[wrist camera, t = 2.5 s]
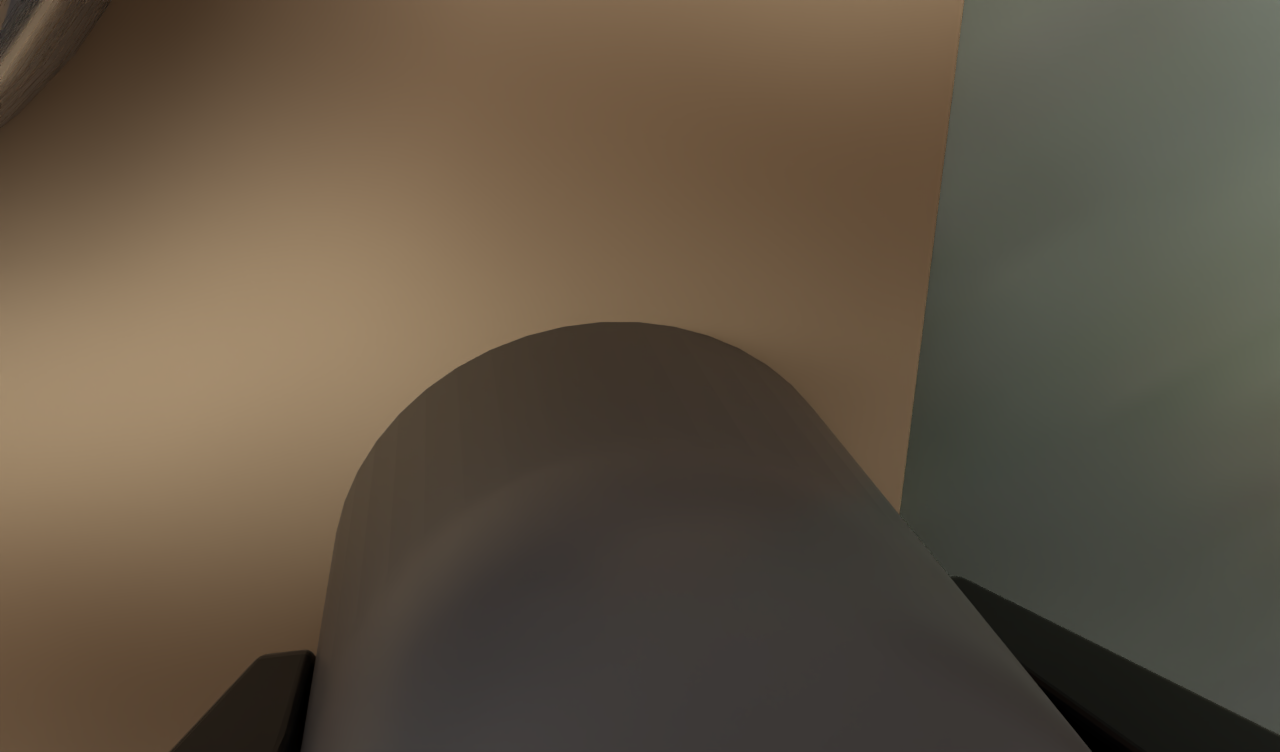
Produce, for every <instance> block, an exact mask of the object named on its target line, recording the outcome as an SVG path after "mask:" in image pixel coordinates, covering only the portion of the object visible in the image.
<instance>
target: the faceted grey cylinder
mask: <svg viewBox="0 0 1280 752" xmlns="http://www.w3.org/2000/svg"><path fill="white" fill-rule="evenodd" d="M111 1H112V0H0V128H1V127H2V126H3V125H5V124H6V123H7V122H9V121H10V120H11V119H13V118H14V117H15V116H16V115H18V114H19V113H20V112H21V111H22V110H23V109H24V108H25V106H26V105H27V104H28V103H29V102H30V101H31V100H32V99H33V98H34V97H35V96H36V95H37V94H38V93H39V92H40V91H41V90H42V89H43V88H44V87H45V86H46V84H47V83H48V82H49V81H50V80H51V79H52V78H53V77H54V76H55V75H56V74H57V73H58V72H59V71H60V70H61V69H62V68H63V67H64V66H65V65H66V64H67V62H68V61H69V60H70V59H71V58H72V57H73V56H74V55H75V54H76V52H77V51H78V49H79V48H80V46H81V45H82V43H83V42H84V40H85V39H86V38H87V36H88V35H89V33H90V32H91V30H92V29H93V27H94V26H95V24H96V23H97V22H98V20H99V19H100V17H101V16H102V14H103V13H104V11H105V10H106V8H107V7H108V6H109V4H110V3H111Z"/></svg>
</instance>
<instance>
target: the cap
mask: <svg viewBox="0 0 1280 752" xmlns="http://www.w3.org/2000/svg"><path fill="white" fill-rule="evenodd" d="M301 752H1092V751H1091V750H1090V749H1089V747H1088V746H1087V745H1086V744H1085V742H1084V741H1083V740H1082V739H1081V738H1080V736H1079V735H1078V734H1077V733H1076V731H1075V730H1074V729H1073V728H1072V726H1071V725H1070V724H1069V723H1068V722H1067V720H1066V719H1065V718H1064V717H1063V715H1062V714H1061V713H1060V712H1059V711H1058V709H1057V708H1056V707H1055V706H1054V704H1053V703H1052V702H1051V701H1050V699H1049V698H1048V697H1047V696H1046V695H1045V693H1044V692H1043V691H1042V690H1041V688H1040V687H1039V686H1038V685H1037V683H1036V682H1035V681H1034V680H1033V679H1032V677H1031V676H1030V675H1029V674H1028V672H1027V671H1026V670H1025V669H1024V667H1023V666H1022V665H1021V664H1020V663H1019V661H1018V660H1017V659H1016V658H1015V656H1014V655H1013V654H1012V653H1011V651H1010V650H1009V649H1008V648H1007V647H1006V645H1005V644H1004V643H1003V642H1002V640H1001V639H1000V638H999V637H998V635H997V634H996V633H995V632H994V631H993V629H992V628H991V627H990V626H989V624H988V623H987V622H986V621H985V619H984V618H983V617H982V616H981V615H980V613H979V612H978V611H977V610H976V608H975V607H974V606H973V605H972V603H971V602H970V601H969V600H968V599H967V597H966V596H965V595H964V594H963V592H962V591H961V590H960V589H959V587H958V586H957V585H956V584H955V583H954V581H953V580H952V579H951V578H950V576H949V575H948V574H947V573H946V571H945V570H944V569H943V568H942V567H941V565H940V564H939V563H938V562H937V560H936V559H935V558H934V557H933V555H932V554H931V553H930V552H929V551H928V549H927V548H926V547H925V546H924V544H923V543H922V542H921V541H920V539H919V538H918V537H917V536H916V535H915V533H914V532H913V531H912V530H911V528H910V527H909V526H908V525H907V523H906V522H905V521H904V520H903V519H902V517H901V516H900V515H899V514H898V512H897V511H896V510H895V509H894V507H893V506H892V505H891V504H890V503H889V501H888V500H887V499H886V498H885V496H884V495H883V494H882V493H881V491H880V490H879V489H878V488H877V487H876V485H875V484H874V483H873V482H872V480H871V479H870V478H869V477H868V475H867V474H866V473H865V472H864V471H863V469H862V468H861V467H860V466H859V464H858V463H857V462H856V461H855V459H854V458H853V457H852V456H851V455H850V453H849V452H848V451H847V450H846V448H845V447H844V446H843V445H842V443H841V442H840V441H839V440H838V439H837V437H836V436H835V435H834V434H833V432H832V431H831V430H830V429H829V427H828V426H827V425H826V424H825V423H824V421H823V420H822V419H821V418H820V416H819V415H818V414H817V413H816V411H815V410H814V409H813V408H812V407H811V406H810V404H809V403H808V402H807V401H806V400H805V399H804V398H803V397H802V396H801V395H800V393H799V392H798V391H797V390H796V389H795V388H794V387H793V386H792V385H791V384H790V383H789V382H788V381H786V380H785V379H784V378H783V377H781V376H780V375H779V374H778V373H776V372H775V371H774V370H773V369H772V368H770V367H769V366H768V365H766V364H765V363H763V362H761V361H759V360H758V359H756V358H754V357H753V356H751V355H749V354H748V353H746V352H744V351H743V350H741V349H739V348H737V347H734V346H732V345H730V344H727V343H725V342H722V341H720V340H718V339H715V338H713V337H710V336H708V335H704V334H700V333H696V332H693V331H689V330H685V329H681V328H677V327H673V326H665V325H657V324H650V323H642V322H597V323H589V324H581V325H573V326H565V327H560V328H556V329H552V330H548V331H544V332H540V333H536V334H532V335H528V336H525V337H522V338H520V339H517V340H515V341H512V342H509V343H507V344H504V345H502V346H499V347H496V348H494V349H491V350H489V351H487V352H485V353H483V354H482V355H480V356H478V357H476V358H474V359H472V360H470V361H468V362H467V363H465V364H463V365H461V366H459V367H457V368H456V369H454V370H453V371H451V372H450V373H449V374H447V375H446V376H444V377H443V378H441V379H440V380H439V381H437V382H436V383H434V384H433V385H432V386H430V387H429V388H427V389H426V390H425V391H424V392H423V393H422V394H420V395H419V396H418V397H417V398H416V399H415V400H414V401H413V402H412V403H411V404H410V405H408V406H407V407H406V408H405V409H404V410H403V411H402V412H401V413H400V414H399V415H398V416H397V417H396V418H395V420H394V421H393V422H392V423H391V424H390V426H389V427H388V428H387V429H386V430H385V432H384V433H383V434H382V435H381V436H380V438H379V439H378V440H377V441H376V443H375V444H374V446H373V447H372V449H371V451H370V452H369V454H368V455H367V457H366V459H365V460H364V462H363V463H362V465H361V467H360V468H359V470H358V472H357V474H356V476H355V478H354V481H353V483H352V485H351V488H350V490H349V492H348V495H347V497H346V499H345V501H344V505H343V509H342V512H341V516H340V520H339V524H338V528H337V531H336V536H335V543H334V549H333V555H332V561H331V567H330V573H329V579H328V586H327V592H326V598H325V604H324V610H323V616H322V622H321V629H320V635H319V641H318V647H317V653H316V659H315V666H314V672H313V678H312V684H311V690H310V696H309V702H308V709H307V715H306V721H305V727H304V733H303V739H302V745H301Z"/></svg>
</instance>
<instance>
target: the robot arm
mask: <svg viewBox="0 0 1280 752" xmlns="http://www.w3.org/2000/svg"><path fill="white" fill-rule="evenodd" d="M950 578H951V579H952V580H953V581H954V583H955V584H956V585H957V586H958V587H959V589H960V590H961V591H962V592H963V594H964V595H965V596H966V597H967V599H968V600H969V601H970V602H971V603H972V605H973V606H974V607H975V608H976V610H977V611H978V612H979V613H980V615H981V616H982V617H983V618H984V619H985V621H986V622H987V623H988V624H989V626H990V627H991V628H992V629H993V631H994V632H995V633H996V634H997V635H998V637H999V638H1000V639H1001V640H1002V642H1003V643H1004V644H1005V645H1006V647H1007V648H1008V649H1009V650H1010V651H1011V653H1012V654H1013V655H1014V656H1015V658H1016V659H1017V660H1018V661H1019V663H1020V664H1021V665H1022V666H1023V667H1024V669H1025V670H1026V671H1027V672H1028V674H1029V675H1030V676H1031V677H1032V679H1033V680H1034V681H1035V682H1036V683H1037V685H1038V686H1039V687H1040V688H1041V690H1042V691H1043V692H1044V693H1045V695H1046V696H1047V697H1048V698H1049V699H1050V701H1051V702H1052V703H1053V704H1054V706H1055V707H1056V708H1057V709H1058V711H1059V712H1060V713H1061V714H1062V715H1063V717H1064V718H1065V719H1066V720H1067V722H1068V723H1069V724H1070V725H1071V726H1072V728H1073V729H1074V730H1075V731H1076V733H1077V734H1078V735H1079V736H1080V738H1081V739H1082V740H1083V741H1084V742H1085V744H1086V745H1087V746H1088V747H1089V749H1090V750H1091V751H1092V752H1280V735H1278V734H1276V733H1274V732H1272V731H1270V730H1268V729H1266V728H1264V727H1262V726H1260V725H1258V724H1256V723H1254V722H1252V721H1250V720H1248V719H1246V718H1244V717H1242V716H1240V715H1238V714H1236V713H1234V712H1232V711H1230V710H1228V709H1226V708H1224V707H1222V706H1220V705H1218V704H1216V703H1214V702H1212V701H1210V700H1208V699H1206V698H1204V697H1202V696H1200V695H1198V694H1196V693H1194V692H1192V691H1190V690H1188V689H1186V688H1184V687H1182V686H1180V685H1178V684H1176V683H1174V682H1172V681H1170V680H1168V679H1166V678H1164V677H1162V676H1160V675H1158V674H1155V673H1153V672H1151V671H1149V670H1147V669H1145V668H1143V667H1141V666H1139V665H1137V664H1135V663H1133V662H1131V661H1129V660H1127V659H1125V658H1123V657H1121V656H1119V655H1117V654H1115V653H1113V652H1111V651H1109V650H1107V649H1105V648H1103V647H1101V646H1099V645H1097V644H1095V643H1093V642H1091V641H1089V640H1087V639H1085V638H1083V637H1081V636H1079V635H1077V634H1075V633H1073V632H1071V631H1069V630H1067V629H1065V628H1063V627H1061V626H1059V625H1057V624H1055V623H1053V622H1051V621H1049V620H1047V619H1045V618H1043V617H1041V616H1039V615H1037V614H1035V613H1033V612H1031V611H1029V610H1027V609H1025V608H1023V607H1021V606H1019V605H1017V604H1015V603H1013V602H1011V601H1009V600H1007V599H1005V598H1003V597H1001V596H999V595H997V594H995V593H993V592H991V591H989V590H987V589H985V588H983V587H981V586H979V585H977V584H975V583H973V582H971V581H969V580H967V579H964V578H962V577H957V576H951V577H950ZM315 659H316V656H315V655H314V653H313V652H312V651H310V650H296V651H287V652H278V653H269V654H264V655H262V656H260V657H258V658H257V659H256V660H255V661H254V662H253V663H252V664H251V665H250V666H249V667H248V668H247V669H246V670H245V671H244V672H243V673H242V674H241V675H240V677H239V678H238V679H237V680H236V681H235V682H234V683H233V684H232V685H231V686H230V687H229V688H228V689H227V690H226V692H225V693H224V694H223V695H222V696H221V697H220V698H219V699H218V700H217V701H216V702H215V703H214V704H213V705H212V707H211V708H210V709H209V710H208V711H207V712H206V713H205V714H204V715H203V716H202V717H201V718H200V719H199V720H198V722H197V723H196V724H195V725H194V726H193V727H192V728H191V729H190V730H189V731H188V732H187V733H186V734H185V735H184V737H183V738H182V739H181V740H180V741H179V742H178V743H177V744H176V745H175V746H174V747H173V748H172V749H171V750H170V752H301V745H302V739H303V733H304V727H305V721H306V715H307V709H308V702H309V696H310V690H311V684H312V678H313V672H314V666H315Z"/></svg>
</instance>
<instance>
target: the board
mask: <svg viewBox="0 0 1280 752" xmlns="http://www.w3.org/2000/svg"><path fill="white" fill-rule="evenodd" d="M963 6H964V0H112V1H111V3H110V4H109V6H108V7H107V8H106V10H105V11H104V13H103V14H102V16H101V17H100V19H99V20H98V22H97V23H96V24H95V26H94V27H93V29H92V30H91V32H90V33H89V35H88V36H87V38H86V39H85V40H84V42H83V43H82V45H81V46H80V48H79V49H78V51H77V52H76V54H75V55H74V56H73V57H72V58H71V59H70V60H69V61H68V62H67V64H66V65H65V66H64V67H63V68H62V69H61V70H60V71H59V72H58V73H57V74H56V75H55V76H54V77H53V78H52V79H51V80H50V81H49V82H48V83H47V84H46V86H45V87H44V88H43V89H42V90H41V91H40V92H39V93H38V94H37V95H36V96H35V97H34V98H33V99H32V100H31V101H30V102H29V103H28V104H27V105H26V106H25V108H24V109H23V110H22V111H21V112H20V113H19V114H18V115H16V116H15V117H14V118H13V119H11V120H10V121H9V122H7V123H6V124H5V125H3V126H2V127H1V128H0V752H170V750H171V749H172V748H173V747H174V746H175V745H176V744H177V743H178V742H179V741H180V740H181V739H182V738H183V737H184V735H185V734H186V733H187V732H188V731H189V730H190V729H191V728H192V727H193V726H194V725H195V724H196V723H197V722H198V720H199V719H200V718H201V717H202V716H203V715H204V714H205V713H206V712H207V711H208V710H209V709H210V708H211V707H212V705H213V704H214V703H215V702H216V701H217V700H218V699H219V698H220V697H221V696H222V695H223V694H224V693H225V692H226V690H227V689H228V688H229V687H230V686H231V685H232V684H233V683H234V682H235V681H236V680H237V679H238V678H239V677H240V675H241V674H242V673H243V672H244V671H245V670H246V669H247V668H248V667H249V666H250V665H251V664H252V663H253V662H254V661H255V660H256V659H257V658H258V657H260V656H262V655H264V654H269V653H278V652H287V651H296V650H310V651H312V652H313V653H314V655H315V656H316V653H317V647H318V641H319V635H320V629H321V622H322V616H323V610H324V604H325V598H326V592H327V586H328V579H329V573H330V567H331V561H332V555H333V549H334V543H335V536H336V531H337V528H338V524H339V520H340V516H341V512H342V509H343V505H344V501H345V499H346V497H347V495H348V492H349V490H350V488H351V485H352V483H353V481H354V478H355V476H356V474H357V472H358V470H359V468H360V467H361V465H362V463H363V462H364V460H365V459H366V457H367V455H368V454H369V452H370V451H371V449H372V447H373V446H374V444H375V443H376V441H377V440H378V439H379V438H380V436H381V435H382V434H383V433H384V432H385V430H386V429H387V428H388V427H389V426H390V424H391V423H392V422H393V421H394V420H395V418H396V417H397V416H398V415H399V414H400V413H401V412H402V411H403V410H404V409H405V408H406V407H407V406H408V405H410V404H411V403H412V402H413V401H414V400H415V399H416V398H417V397H418V396H419V395H420V394H422V393H423V392H424V391H425V390H426V389H427V388H429V387H430V386H432V385H433V384H434V383H436V382H437V381H439V380H440V379H441V378H443V377H444V376H446V375H447V374H449V373H450V372H451V371H453V370H454V369H456V368H457V367H459V366H461V365H463V364H465V363H467V362H468V361H470V360H472V359H474V358H476V357H478V356H480V355H482V354H483V353H485V352H487V351H489V350H491V349H494V348H496V347H499V346H502V345H504V344H507V343H509V342H512V341H515V340H517V339H520V338H522V337H525V336H528V335H532V334H536V333H540V332H544V331H548V330H552V329H556V328H560V327H565V326H573V325H581V324H589V323H597V322H642V323H650V324H657V325H665V326H673V327H677V328H681V329H685V330H689V331H693V332H696V333H700V334H704V335H708V336H710V337H713V338H715V339H718V340H720V341H722V342H725V343H727V344H730V345H732V346H734V347H737V348H739V349H741V350H743V351H744V352H746V353H748V354H749V355H751V356H753V357H754V358H756V359H758V360H759V361H761V362H763V363H765V364H766V365H768V366H769V367H770V368H772V369H773V370H774V371H775V372H776V373H778V374H779V375H780V376H781V377H783V378H784V379H785V380H786V381H788V382H789V383H790V384H791V385H792V386H793V387H794V388H795V389H796V390H797V391H798V392H799V393H800V395H801V396H802V397H803V398H804V399H805V400H806V401H807V402H808V403H809V404H810V406H811V407H812V408H813V409H814V410H815V411H816V413H817V414H818V415H819V416H820V418H821V419H822V420H823V421H824V423H825V424H826V425H827V426H828V427H829V429H830V430H831V431H832V432H833V434H834V435H835V436H836V437H837V439H838V440H839V441H840V442H841V443H842V445H843V446H844V447H845V448H846V450H847V451H848V452H849V453H850V455H851V456H852V457H853V458H854V459H855V461H856V462H857V463H858V464H859V466H860V467H861V468H862V469H863V471H864V472H865V473H866V474H867V475H868V477H869V478H870V479H871V480H872V482H873V483H874V484H875V485H876V487H877V488H878V489H879V490H880V491H881V493H882V494H883V495H884V496H885V498H886V499H887V500H888V501H889V503H890V504H891V505H892V506H893V507H894V509H895V510H896V511H897V512H898V514H900V506H901V498H902V490H903V482H904V474H905V466H906V459H907V451H908V443H909V435H910V427H911V419H912V411H913V403H914V395H915V387H916V379H917V371H918V363H919V355H920V347H921V339H922V332H923V324H924V316H925V308H926V300H927V292H928V284H929V276H930V268H931V260H932V252H933V244H934V236H935V228H936V220H937V213H938V205H939V197H940V189H941V181H942V173H943V165H944V157H945V149H946V141H947V133H948V125H949V117H950V109H951V101H952V93H953V86H954V78H955V70H956V62H957V54H958V46H959V38H960V30H961V22H962V14H963Z"/></svg>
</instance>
